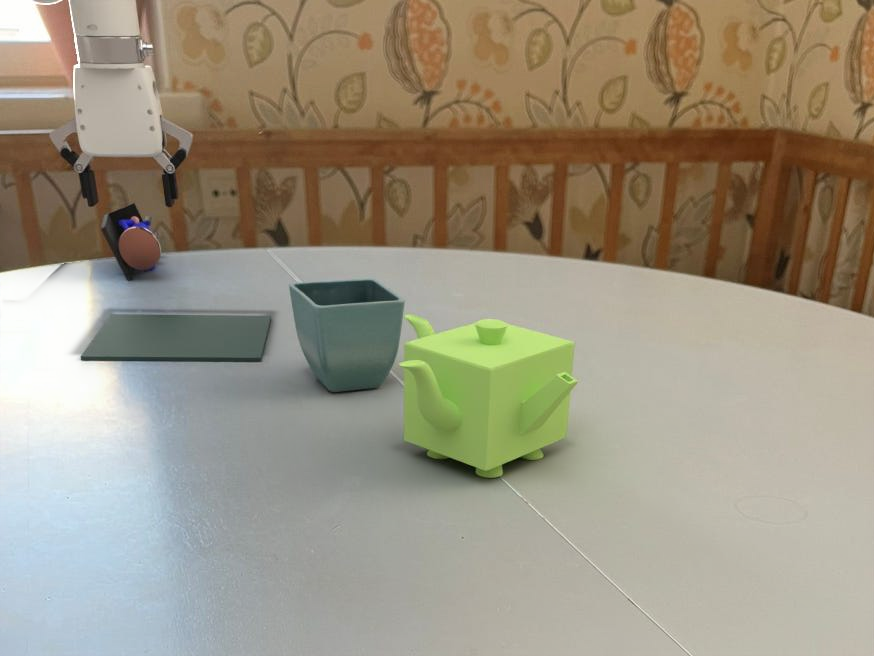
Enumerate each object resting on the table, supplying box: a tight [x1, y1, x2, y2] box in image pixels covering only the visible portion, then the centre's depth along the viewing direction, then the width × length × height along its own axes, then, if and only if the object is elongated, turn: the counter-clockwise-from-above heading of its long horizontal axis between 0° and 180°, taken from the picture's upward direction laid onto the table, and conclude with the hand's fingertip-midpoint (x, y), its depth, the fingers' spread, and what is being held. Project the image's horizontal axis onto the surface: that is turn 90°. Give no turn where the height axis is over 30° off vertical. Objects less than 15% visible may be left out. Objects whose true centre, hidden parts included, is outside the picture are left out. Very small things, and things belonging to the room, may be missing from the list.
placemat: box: [80, 313, 272, 362], centre depth 114 cm, size 18×16×1 cm
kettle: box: [398, 314, 579, 479], centre depth 86 cm, size 15×14×11 cm
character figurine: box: [100, 202, 162, 281], centre depth 137 cm, size 8×7×15 cm
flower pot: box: [288, 278, 406, 393], centre depth 101 cm, size 9×9×9 cm
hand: (132, 205), depth 135 cm, fingers open, 9 cm apart
